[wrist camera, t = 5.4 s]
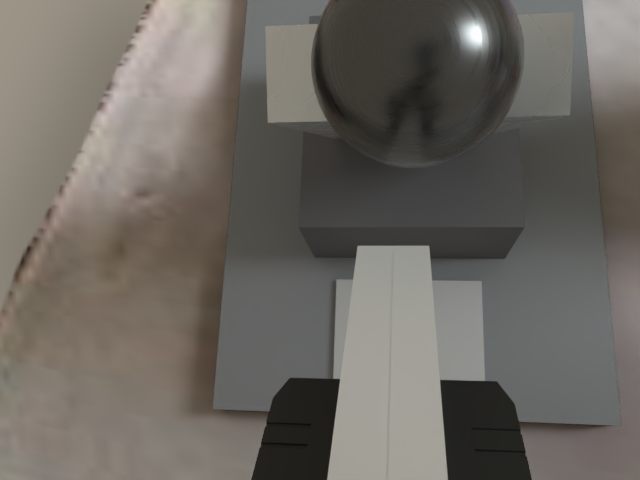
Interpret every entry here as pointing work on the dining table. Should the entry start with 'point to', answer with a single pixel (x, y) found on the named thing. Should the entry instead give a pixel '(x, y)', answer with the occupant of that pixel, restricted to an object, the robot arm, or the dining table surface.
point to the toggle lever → (419, 75)
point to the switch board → (517, 292)
